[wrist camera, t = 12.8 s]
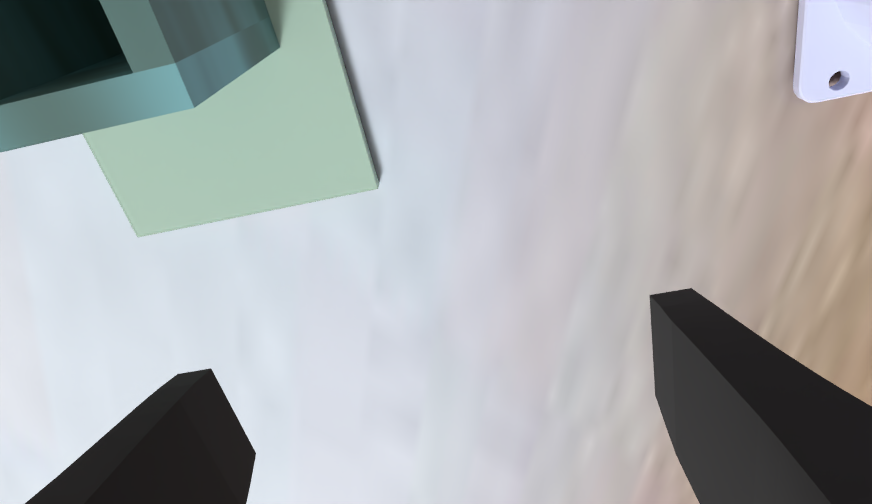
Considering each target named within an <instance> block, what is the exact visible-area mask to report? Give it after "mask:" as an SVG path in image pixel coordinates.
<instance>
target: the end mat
mask: <svg viewBox="0 0 872 504" xmlns="http://www.w3.org/2000/svg"><path fill="white" fill-rule="evenodd" d="M264 1H265V4H266V7H267V10H268V13H269V16H270V19H271V22H272V25H273V28H274V31H275V33H276V36H277V39H278V42H279V45H280V48H279V49H278V50H276V51H275V52H273V53H272V54H270V55H269V56H268V57H266V58H265V59H263V60H262V61H260V62H259V63H258V64H256V65H255V66H253V67H252V68H251V69H249V70H248V71H246V72H245V73H243V74H242V75H241V76H239V77H238V78H236V79H235V80H233V81H232V82H231V83H229V84H228V85H226V86H225V87H223V88H222V89H221V90H219V91H218V92H216V93H215V94H214V95H212V96H211V97H209V98H208V99H206V100H205V101H204V102H202V103H201V104H199V105H198V106H196V107H195V108H192V109H188V110H183V111H179V112H175V113H170V114H166V115H162V116H157V117H153V118H148V119H144V120H140V121H135V122H131V123H127V124H122V125H118V126H114V127H109V128H105V129H100V130H96V131H92V132H87V133H83V136H84V138H85V139H86V141H87V143H88V145H89V147H90V149H91V151H92V153H93V155H94V156H95V158H96V160H97V162H98V164H99V166H100V168H101V170H102V171H103V173H104V175H105V177H106V179H107V181H108V183H109V185H110V186H111V188H112V190H113V192H114V194H115V196H116V198H117V200H118V201H119V203H120V205H121V207H122V209H123V211H124V213H125V215H126V216H127V218H128V220H129V222H130V224H131V226H132V228H133V230H134V231H135V233H136V235H137V237H142V236H147V235H152V234H157V233H162V232H167V231H172V230H177V229H182V228H187V227H192V226H197V225H202V224H207V223H212V222H216V221H221V220H226V219H231V218H236V217H241V216H246V215H251V214H256V213H261V212H266V211H271V210H276V209H281V208H286V207H291V206H296V205H301V204H306V203H311V202H316V201H321V200H326V199H330V198H335V197H340V196H345V195H350V194H355V193H360V192H365V191H370V190H375V189H378V186H379V182H378V178H377V175H376V172H375V168H374V165H373V161H372V158H371V154H370V151H369V148H368V144H367V141H366V137H365V134H364V130H363V127H362V124H361V120H360V117H359V113H358V110H357V106H356V103H355V100H354V96H353V93H352V89H351V86H350V83H349V79H348V76H347V72H346V69H345V65H344V62H343V59H342V55H341V52H340V48H339V45H338V41H337V38H336V35H335V31H334V28H333V24H332V21H331V18H330V14H329V11H328V7H327V4H326V0H264Z"/></svg>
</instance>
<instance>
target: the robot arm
mask: <svg viewBox="0 0 872 504" xmlns="http://www.w3.org/2000/svg"><path fill="white" fill-rule="evenodd" d="M838 71H840V72H841V77H840V80H839V81H838V82H837V83H836V84H835V85H833V86H831V87H829V80H830V77H831V76H832V75H833V74H834V73H836V72H838ZM793 88H794V93H795V94H796V95H797V97H798V98H801V99H803V100H805V101H807V102H809V103H812V102H821V101H826V100H831V99H836V98H841V97H846V96H851V95H856V94H861V93H866V92H871V91H872V0H799V10H798V24H797V38H796V52H795V66H794V80H793ZM650 309H651V326H652V344H653V362H654V380H655V395H656V398H657V401H658V404H659V407H660V410H661V413H662V416H663V419H664V422H665V425H666V428H667V430H668V433H669V436H670V439H671V441H672V444H673V447H674V450H675V453H676V455H677V457H678V459H679V462H680V464H681V466H682V468H683V470H684V472H685V474H686V476H687V478H688V480H689V482H690V484H691V486H692V489H693V491H694V493H695V495H696V497H697V499H698V501H699V503H700V504H872V406H870V405H868V404H866V403H865V402H863V401H861V400H860V399H858V398H856V397H854V396H853V395H851V394H849V393H847V392H846V391H844V390H842V389H841V388H839V387H837V386H836V385H834V384H833V383H831V382H829V381H828V380H826V379H824V378H823V377H821V376H820V375H818V374H816V373H815V372H813V371H812V370H810V369H809V368H807V367H805V366H804V365H802V364H801V363H799V362H798V361H796V360H795V359H793V358H792V357H790V356H789V355H787V354H785V353H784V352H782V351H781V350H779V349H778V348H776V347H775V346H773V345H772V344H770V343H769V342H768V341H766V340H765V339H763V338H762V337H760V336H759V335H757V334H756V333H754V332H753V331H752V330H750V329H749V328H747V327H746V326H744V325H743V324H741V323H740V322H739V321H737V320H736V319H734V318H733V317H732V316H730V315H729V314H727V313H726V312H724V311H723V310H722V309H720V308H719V307H717V306H716V305H714V304H713V303H712V302H710V301H709V300H707V299H706V298H704V297H703V296H702V295H700V294H699V293H697V292H696V291H694V290H693V289H692V288H690V289H684V290H678V291H672V292H666V293H660V294H654V295H650ZM255 455H256V453H255V451H254V449H253V447H252V445H251V443H250V441H249V439H248V437H247V436H246V434H245V432H244V430H243V428H242V426H241V424H240V422H239V420H238V419H237V417H236V415H235V413H234V411H233V409H232V407H231V405H230V403H229V402H228V400H227V398H226V396H225V394H224V392H223V390H222V388H221V386H220V385H219V383H218V381H217V379H216V377H215V375H214V373H213V371H212V369H206V370H200V371H194V372H188V373H182V374H177V375H176V376H175V377H173V378H172V379H171V380H169V381H168V382H167V383H165V384H164V385H163V386H161V387H160V388H159V389H158V390H157V391H155V392H154V393H153V394H152V395H150V396H149V397H148V398H147V399H146V400H145V401H143V402H142V403H141V404H140V405H139V406H138V407H136V408H135V409H134V410H133V411H132V412H131V413H129V414H128V415H127V416H126V417H125V418H124V419H123V420H121V421H120V422H119V423H118V424H117V425H116V426H115V427H114V428H112V429H111V430H110V431H109V432H108V433H107V434H106V435H104V436H103V437H102V438H101V439H100V440H99V441H98V442H96V443H95V444H94V445H93V446H92V447H91V448H90V449H88V450H87V451H86V452H85V453H84V454H83V455H82V456H80V457H79V458H78V459H77V460H76V461H75V462H74V463H72V464H71V465H70V466H69V467H68V468H67V469H66V470H64V471H63V472H62V473H61V474H60V475H59V476H58V477H56V478H55V479H54V480H53V481H52V482H50V483H49V484H48V485H47V486H46V487H44V488H43V489H42V490H41V491H39V492H38V493H37V494H36V495H35V496H33V497H32V498H31V499H30V500H29V501H27V502H26V503H25V504H246V501H247V497H248V492H249V488H250V483H251V477H252V472H253V466H254V461H255Z"/></svg>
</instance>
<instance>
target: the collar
mask: <svg viewBox="0 0 872 504" xmlns="http://www.w3.org/2000/svg"><path fill="white" fill-rule="evenodd" d="M279 48H280V45H279V42H278V39H277V36H276V33H275V31H274V28H273V25H272V22H271V19H270V16H269V13H268V10H267V7H266V4H265V1H264V0H0V152H4V151H9V150H13V149H17V148H22V147H26V146H31V145H35V144H39V143H44V142H48V141H52V140H57V139H61V138H65V137H70V136H74V135H79V134H83V133H87V132H92V131H96V130H100V129H105V128H109V127H114V126H118V125H122V124H127V123H131V122H135V121H140V120H144V119H148V118H153V117H157V116H162V115H166V114H170V113H175V112H179V111H183V110H188V109H192V108H195V107H196V106H198V105H199V104H201V103H202V102H204V101H205V100H206V99H208V98H209V97H211V96H212V95H214V94H215V93H216V92H218V91H219V90H221V89H222V88H223V87H225V86H226V85H228V84H229V83H231V82H232V81H233V80H235V79H236V78H238V77H239V76H241V75H242V74H243V73H245V72H246V71H248V70H249V69H251V68H252V67H253V66H255V65H256V64H258V63H259V62H260V61H262V60H263V59H265V58H266V57H268V56H269V55H270V54H272V53H273V52H275V51H276V50H278V49H279Z"/></svg>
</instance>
